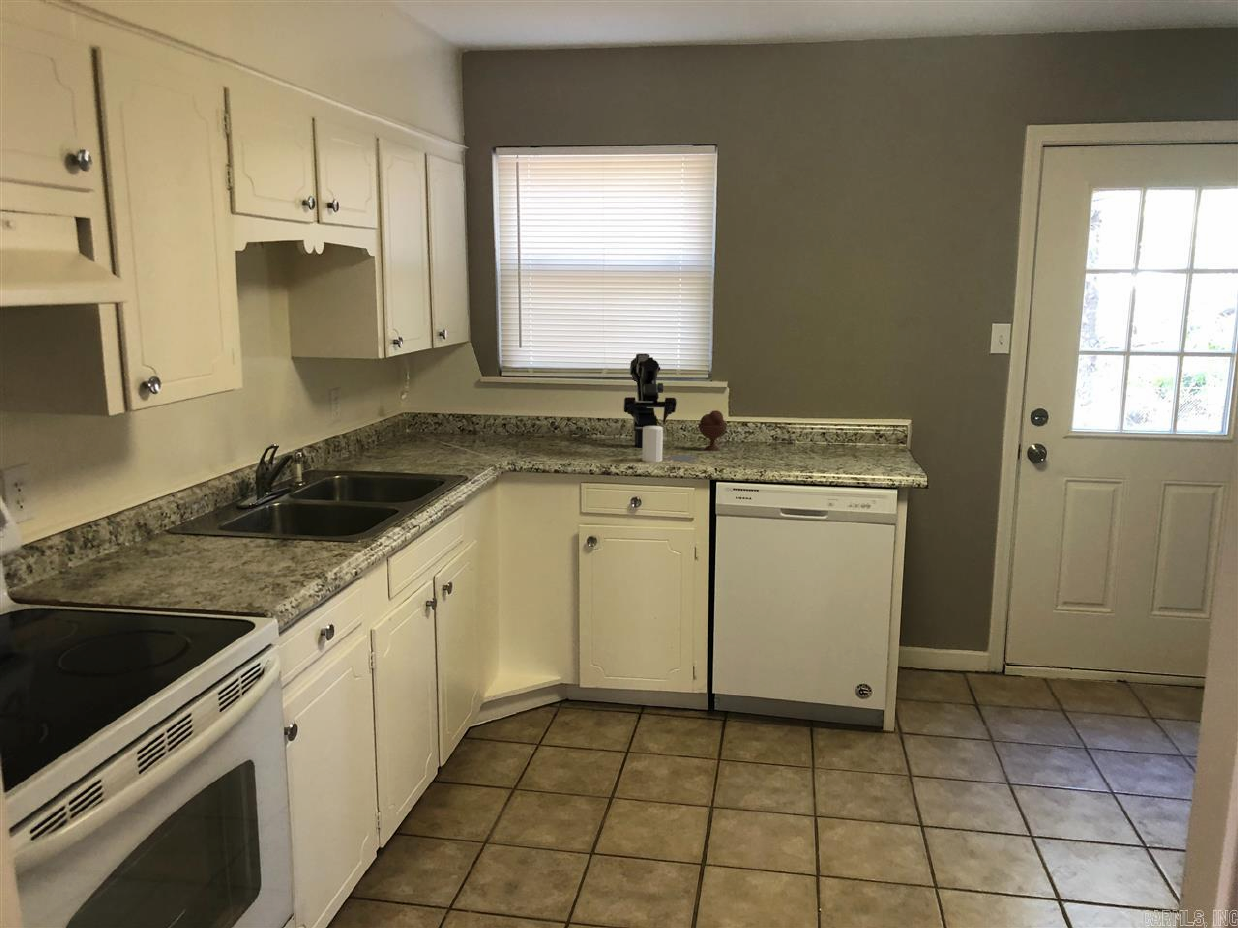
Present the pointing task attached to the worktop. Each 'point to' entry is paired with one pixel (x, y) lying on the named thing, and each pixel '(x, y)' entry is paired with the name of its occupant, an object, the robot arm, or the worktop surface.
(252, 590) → the worktop surface
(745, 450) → the worktop surface
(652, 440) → the tumbler
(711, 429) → the ice cream bowl
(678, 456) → the mat
